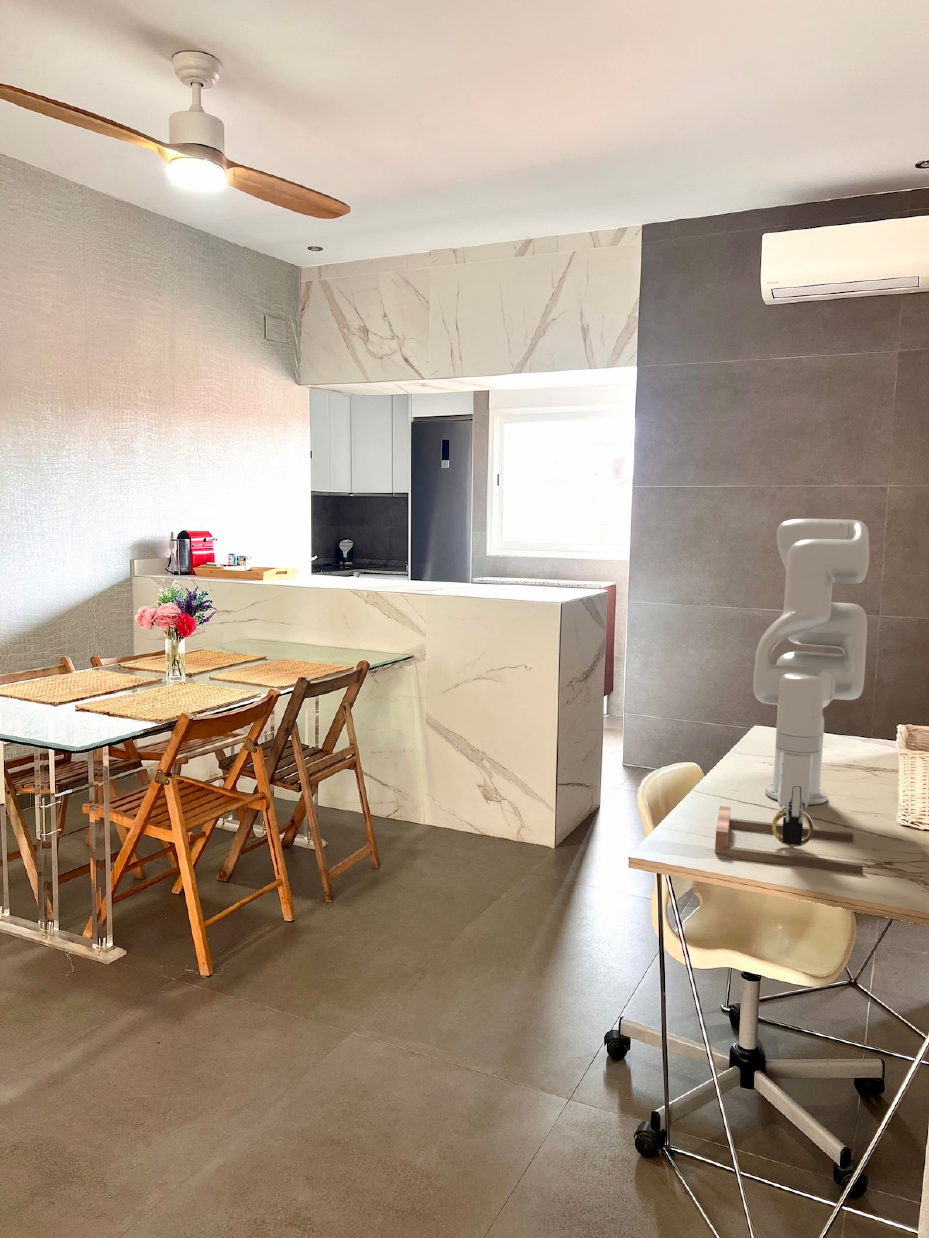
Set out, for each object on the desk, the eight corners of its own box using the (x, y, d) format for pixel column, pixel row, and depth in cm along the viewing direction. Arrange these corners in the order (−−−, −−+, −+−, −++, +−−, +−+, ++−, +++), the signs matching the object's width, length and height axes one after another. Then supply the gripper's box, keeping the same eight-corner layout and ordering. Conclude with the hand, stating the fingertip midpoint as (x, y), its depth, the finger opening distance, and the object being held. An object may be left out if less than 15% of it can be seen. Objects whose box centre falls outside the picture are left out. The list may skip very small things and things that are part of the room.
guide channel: (718, 824, 173) (719, 804, 173) (852, 840, 166) (853, 819, 166) (714, 854, 157) (715, 832, 157) (862, 874, 150) (864, 851, 149)
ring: (812, 847, 161) (815, 804, 160) (811, 853, 158) (814, 809, 158) (772, 841, 164) (774, 799, 163) (770, 846, 161) (772, 803, 160)
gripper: (774, 731, 168) (768, 825, 170) (777, 750, 153) (770, 854, 155) (817, 734, 165) (810, 830, 167) (823, 755, 151) (816, 859, 153)
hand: (791, 840), depth 161 cm, fingers closed on ring, 1 cm apart
